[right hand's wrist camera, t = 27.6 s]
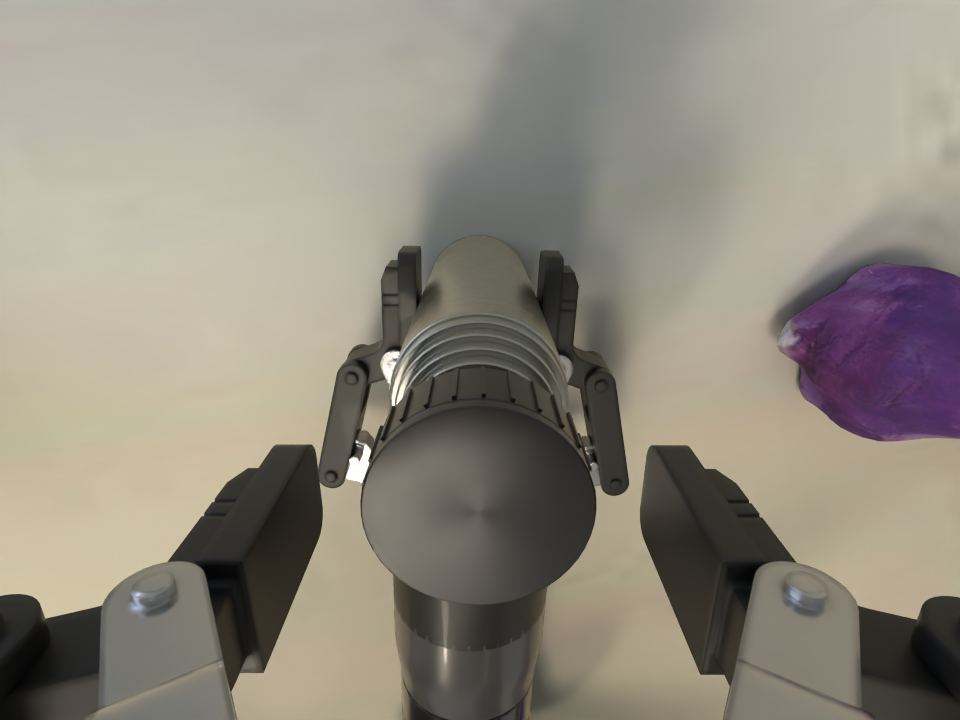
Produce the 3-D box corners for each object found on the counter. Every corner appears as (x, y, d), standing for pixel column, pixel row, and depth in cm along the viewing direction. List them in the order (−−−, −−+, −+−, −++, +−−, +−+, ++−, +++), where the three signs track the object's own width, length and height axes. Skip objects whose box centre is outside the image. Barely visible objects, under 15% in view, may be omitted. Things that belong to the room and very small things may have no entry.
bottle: (532, 322, 29) (610, 571, 12) (440, 336, 29) (385, 601, 12) (520, 227, 27) (589, 358, 10) (422, 244, 28) (327, 397, 10)
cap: (624, 458, 12) (650, 510, 10) (480, 577, 13) (480, 643, 12) (475, 320, 11) (475, 352, 9) (332, 463, 12) (307, 516, 10)
